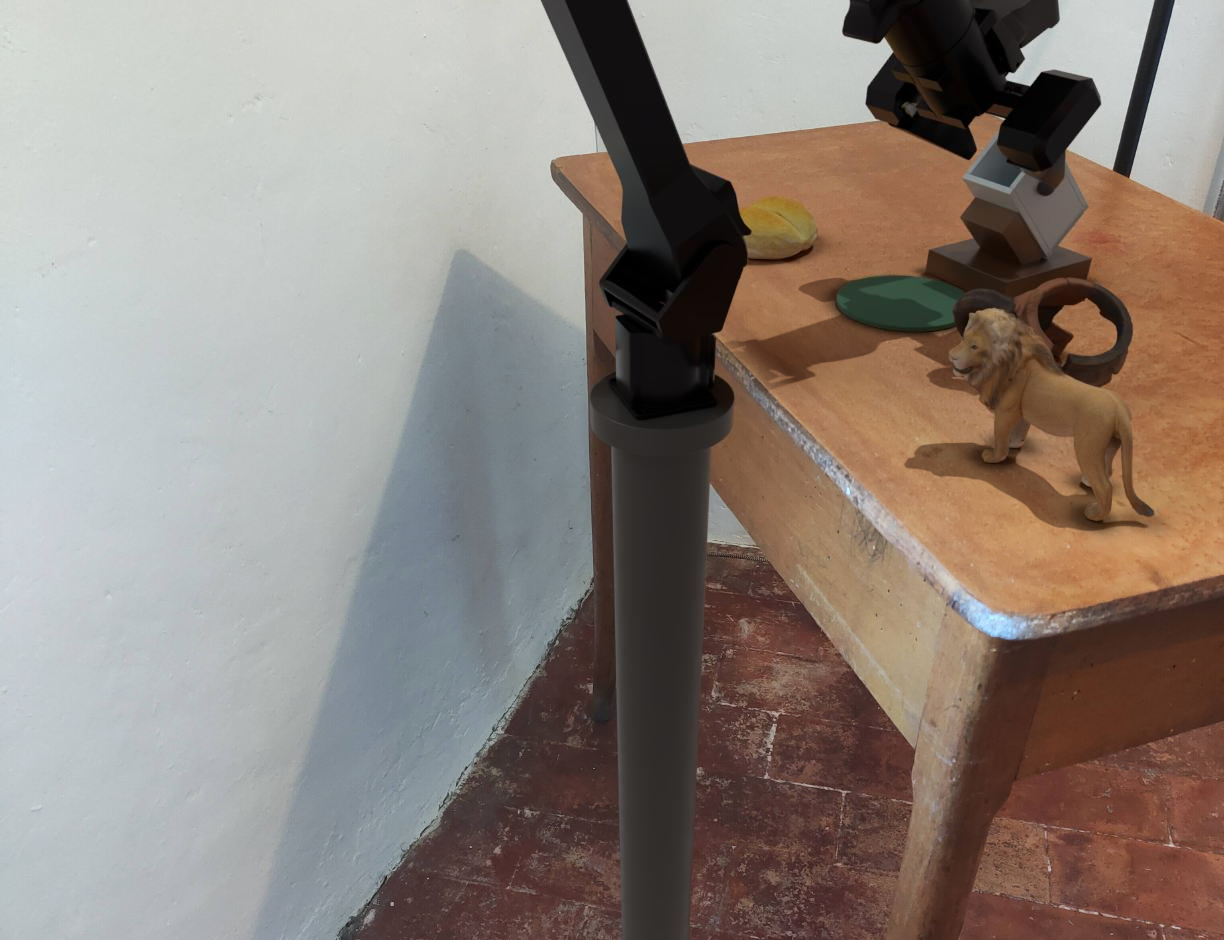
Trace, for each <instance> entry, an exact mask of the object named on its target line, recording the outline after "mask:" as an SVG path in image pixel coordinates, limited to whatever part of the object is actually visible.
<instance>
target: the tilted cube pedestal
mask: <svg viewBox="0 0 1224 940" xmlns="http://www.w3.org/2000/svg"><path fill="white" fill-rule="evenodd" d="M959 218H960V220H961V222H962V223H963V225H964V226H965V228H966V229H967V231H968V232H969V233H970V235H971V237H972V238H969V239H965V240H961V241H956V242H953V243H948V244H945V245H941V246H937V247H933V248H929V249H928V253H927V258H926V265H925V271H924V272H925V273H927V274H929V275H932V276H934V277H936V278H938V279H941V280H943V281H944V282H948V283H950V284H952V285H953V286H955V287H956V286H957V287H959V288H960V289H963V290H965V291H967V292H969V291H971V290H975V289H980V288H983V289H991V290H995V291H997V292H999V293H1001V294H1003V295H1005V296H1008V297H1012V298H1014V297H1016V296H1020V295H1022V294H1024V293H1026V292H1028V291H1031V290H1033V289H1036V288H1038V287H1039V286H1040V285H1042V284H1043V283H1045V282H1047V281H1050V280H1054V279H1057V278H1064V279H1065V278H1078V279H1083V280H1086V281H1088V276H1089V272H1090V269H1091V265H1092V261H1093V258H1092V257H1090V256H1087V255H1084V254H1081V253H1079V252H1076V251H1074V250H1071V249H1069V248H1065V247H1063V246H1060V245H1058V246H1057V248H1056V249H1055V250H1054V251H1053V253H1052V254H1051V255H1050V256H1049V258H1045V257H1043V255H1044V254H1043V253H1042V251H1041V249H1040V248H1039V246H1038V244H1037V243H1036V241H1035V239H1034V238H1033V236H1032V234H1031V233H1030V231H1029V229H1028V228H1027V226H1026V224H1025V223H1024V221H1023V219H1022V218H1021V216H1020V214H1019V213H1018V212H1015V211H1012V210H1009V209H1007V208H1004V207H1001V206H998V205H995V204H993V203H990V202H987V201H984V200H981V199H979V198H976V197H975V198H974V197H973V199H972V201H971V202H970V203H969V205H968V206H967V207H966V208H965V210H964V211H963V212H962V213H961V215H960V216H959Z"/></svg>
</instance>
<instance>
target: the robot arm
mask: <svg viewBox="0 0 1224 940" xmlns="http://www.w3.org/2000/svg"><path fill="white" fill-rule="evenodd" d="M540 3H541V4H542V7H543V9H544V12H545V14H546V16H547V19H548V20H549V23H550V25H551V27H552V29H553V32H554V34H555V37H556V39H557V42H558V43H559V46H560V48H561V50H562V52H563V54H564V57H565V59H566V61H567V64H568V66H569V68H570V70H571V73H572V75H573V77H574V79H575V81H576V84H577V86H578V88H579V90H580V93H581V96H582V97H583V100H584V102H585V104H586V107H587V110H589V114H590V116H591V117H592V120H593V122H594V125H595V127H596V129H597V131H598V133H599V136H600V138H601V140H602V142H603V145H604V147H605V150H606V152H607V154H608V156H609V159H610V161H611V163H612V165H613V168H614V169H615V172H616V174H617V176H618V179H619V181H620V184H621V190H622V198H621V212H620V213H621V215H620V222H621V226H622V230H623V234H624V237H625V241H626V243H625V245H623V247H622V248H621V250H620V251H619V253H618V254H617V256H616V257H615V258H614V259H613V261H612V262H611V263H610V265H609V266H608V268H607V269H606V270H605V272H604V273H603V275H602V276H601V278H599V281H598V286H599V288H600V291H601V293H602V297H603V299H604V301H605V303H606V304H605V305H607V306H608V307H610V308H613V309H615V310H617V311H618V312H620V313H621V314H618V315H615V316H614V327H615V328H614V329H615V333H614V334H615V371H616V377H615V378H611V379H609V387H610V388H611V390H612V391H613V392H614V393H615V395H616V396H617V397H618V398H619V400H620V401H621V402H622V403H623V405H624V406H625V407H626V408H627V410H628V411H629V412H630V413H631V415H632V416H633V417H634V418H635V419H636V420H648V419H653V418H658V417H663V416H669V415H674V414H679V413H684V412H690V411H695V410H700V409H705V408H711V407H715V406H716V405H717V398H716V397H715V396H714V395H713V394H712V393H711V392H710V391H709V389H711V388H713V386H714V375H715V374H716V372H715V371H716V353H717V352H716V351H717V350H716V349H717V337H716V336H715V335H714V334H717V333H720V332H722V331H723V329H724V326H725V323H726V320H727V317H728V314H729V312H730V308H731V305H732V303H733V300H734V297H735V294H736V290H737V288H738V285H739V282H740V280H741V277H742V275H743V271H744V268H746V267H747V266H748V264H749V258H748V250H747V245H746V241H745V239H744V237H743V236H748V235H750V234H751V233H752V231H751V229H750V228H749V227H748V226H747V225H746V224H745V223H744V221H743V219H742V217H741V216H740V212H739V208H740V206H739V203H738V197H737V192H736V190H735V188H734V185H733V183H732V182H731V180H728V179H726V178H724V177H721V176H719V175H717V174H715V173H712V172H710V171H708V170H705V169H703V168H701V167H699V166H697V165H694V164H692V163H690V160H689V157H688V155H687V152H686V149H685V147H684V145H683V142H682V139H681V136H680V134H679V130H678V129H677V126H676V123H675V121H674V118H673V116H672V113H671V110H670V107H669V106H668V103H667V100H666V98H665V95H664V92H663V90H662V86H661V83H660V81H659V78H658V76H657V74H656V71H655V68H654V66H653V63H652V61H651V58H650V56H649V52H648V49H647V48H646V45H645V42H644V40H643V37H642V34H641V32H640V29H639V27H638V24H637V21H636V18H635V16H634V14H633V10H632V8H631V5H630V3H629V1H628V0H540ZM1059 3H1060V2H1059V0H849V6H848V10H847V12H846V14H845V15H844V18H843V25H842V28H841V33H842V35H843V36H844V37H845V38H850V39H854V40H858V41H862V42H867V43H870V44H873V45H878V44H880V43H881V42H882V41H883V40H885V41H886V43H887V44H888V46H889V48H890V50H891V51H892V53H891V54H890V55H889V57H888V58H887V60H886V61H885V62H884V63H883V65H882V67H880V69H879V70H878V71H877V73H876V75H874V77H873V79H872V80H871V81H870V82H869V84H868V85H867V87H866V96H865V103H864V104H865V106H866V108H867V109H868V110H869V112H870V113H871V115H872V116H873V118H874V119H875V120H878V121H880V122H883V123H887V125H888V126H889V127H891V128H894V129H897V130H898V131H901V132H902V133H903V132H904V133H906V134H908V135H910V136H913V137H915V138H917V139H919V140H922V141H923V142H926V143H928V144H931V145H933V146H935V147H937V148H940V149H942V150H944V151H946V152H949V154H952V155H954V156H957V157H959V158H960V159H961V158H962V159H963V160H965V161H970V160H971V159H972V158H973V157H974V156H975V155H976V153H977V151H978V147H977V144H976V141H975V137H974V136H973V133H972V131H971V129H970V125H971V123H973V121H974V120H975V118H978V117H981V116H983V115H984V114H987V115H990V116H993V117H998V118H1001V119H1004V120H1003V121H1002V122H1001V123H1000V125H999V129H998V130H999V135H998V140H997V146H998V148H999V149H1000V151H1001V153H1002V154H1003V155H1005V156H1006V157H1007V158H1008V159H1007V161H1006V163H1007V164H1009V165H1011V166H1013V167H1015V168H1016V169H1018V170H1020V171H1022V172H1024V173H1026V174H1027V175H1029V176H1031V177H1033V178H1034V179H1036V180H1038V181H1040V182H1042V183H1044V184H1045V185H1047V186H1049V187H1051V188H1054V189H1055V188H1057V187H1058V186H1059V184H1060V183H1061V182H1062V180H1063V179H1064V177H1065V161H1066V156H1067V155H1066V154H1067V153H1066V152H1067V149H1068V148H1069V147H1070V145H1071V144H1072V143H1073V142H1074V141H1075V139H1076V138H1077V136H1078V135H1079V134H1080V133H1081V132H1082V130H1083V129H1084V128H1085V126H1086V125H1087V124H1088V123H1089V121H1091V118H1092V117H1093V116H1094V115H1095V114H1096V112H1097V111H1098V110H1099V108H1100V107H1101V106H1102V99H1101V94H1100V92H1099V89H1098V88H1097V86H1096V83H1095V81H1094V79H1093V77H1089V76H1086V75H1085V76H1084V75H1081V74H1076V73H1072V72H1067V71H1063V70H1059V69H1049V70H1044V71H1040V73H1039V74H1038V76H1037V77H1036V78H1035V79H1034V81H1033V82H1032V83H1031V84H1030V85H1028V84H1023V83H1019V82H1015V81H1012V80H1008V79H1007V76H1008V75H1009V74H1015V73H1016V72H1017V71H1018V69H1019V68H1020V67H1021V66H1022V64H1023V63H1024V61H1026V57H1025V56H1024V53H1023V51H1022V49H1023V48H1024V47H1026V46H1027V45H1029V44H1031V42H1032V41H1034V40H1035V39H1036V38H1038V37H1039V36H1040V35H1042V34H1043V33H1044V32H1045V31H1047V30H1048V29H1050V30H1051V29H1053V28H1054V27H1056V25H1058V24H1059V22H1060V21H1061V17H1060V5H1059Z"/></svg>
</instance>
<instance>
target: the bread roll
mask: <svg viewBox="0 0 1224 940" xmlns="http://www.w3.org/2000/svg"><path fill="white" fill-rule="evenodd" d="M739 212H740V216H741V217H742V219H743V221H744V223H745V224H746V225H747V226H748V227H749V228H750V229H751V231H752V233H751V234H750V235H748V236H743V237H744V239H745V241H746V245H747V250H748V259H753V260H782V259H787V258H790V257H791V258H792V257H794V256H795V255H797V254H798V253H800V252H802V251H803V252H804V251H806V250H808V249H810V248H811V247H812V245H813V244H814V243H815V242H816V241H817V238H818V234H819V233H818V232H819V231H818V225H817V223H816V219H815V217H814V215H813V213H811V212H810V211H809V209H808V208H807V207H806V206H805V205H804V204H803V203H801V202H799V201H797V200H795V199H793V198H789V197H785V196H780V195H779V196H778V195H772V196H766V197H761V198H760V199H758V200H756V201H755V202H753V203H752V204H751V205H749V206H743V207H739Z"/></svg>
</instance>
